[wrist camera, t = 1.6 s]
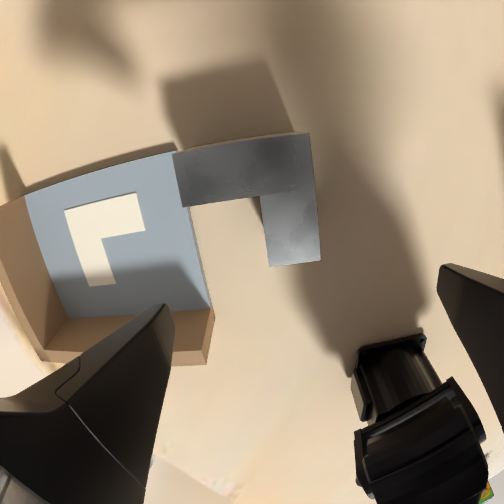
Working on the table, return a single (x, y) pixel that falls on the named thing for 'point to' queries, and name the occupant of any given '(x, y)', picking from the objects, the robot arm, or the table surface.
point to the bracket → (259, 187)
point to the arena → (105, 260)
